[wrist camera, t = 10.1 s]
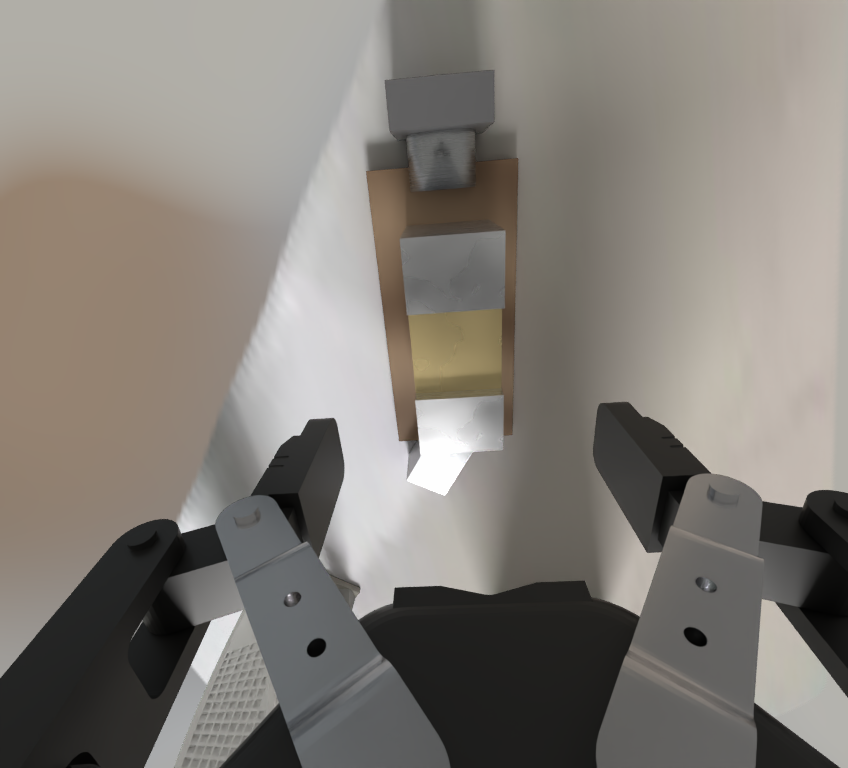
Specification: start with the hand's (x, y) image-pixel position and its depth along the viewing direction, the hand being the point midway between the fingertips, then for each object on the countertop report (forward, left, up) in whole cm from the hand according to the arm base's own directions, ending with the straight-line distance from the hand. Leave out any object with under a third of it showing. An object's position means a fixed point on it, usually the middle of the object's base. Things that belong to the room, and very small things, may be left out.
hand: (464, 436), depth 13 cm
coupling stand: (0, 0, -12) cm, 12 cm away
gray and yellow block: (0, 0, -11) cm, 11 cm away
